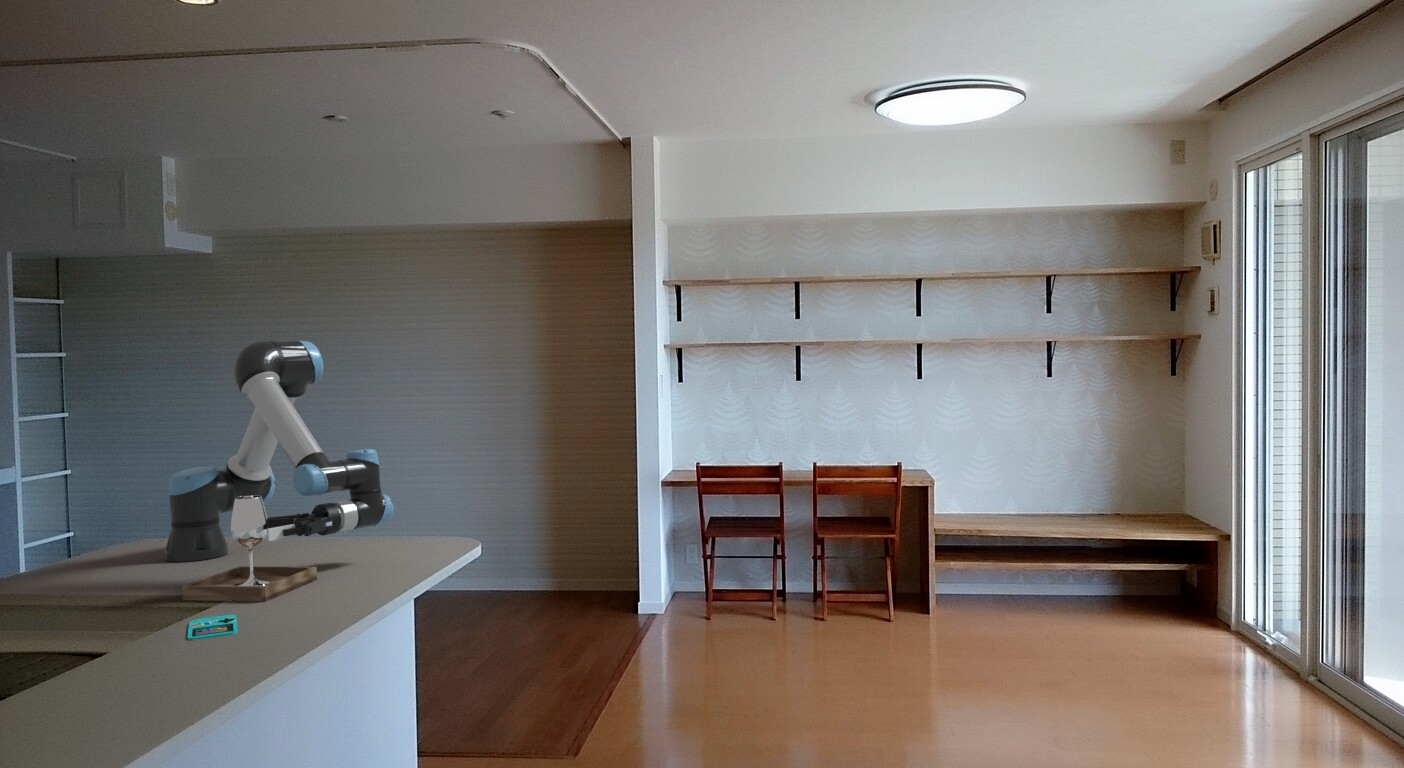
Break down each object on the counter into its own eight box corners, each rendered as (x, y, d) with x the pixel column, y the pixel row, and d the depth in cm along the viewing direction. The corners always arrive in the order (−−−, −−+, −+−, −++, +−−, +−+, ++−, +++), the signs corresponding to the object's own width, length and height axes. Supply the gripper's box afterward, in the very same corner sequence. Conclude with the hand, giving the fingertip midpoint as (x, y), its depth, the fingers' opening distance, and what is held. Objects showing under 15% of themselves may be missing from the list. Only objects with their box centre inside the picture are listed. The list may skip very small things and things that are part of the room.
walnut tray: (240, 578, 233) (239, 566, 233) (317, 579, 230) (316, 567, 230) (182, 600, 214) (181, 586, 213) (265, 601, 210) (265, 587, 210)
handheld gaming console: (236, 612, 199) (237, 630, 185) (236, 617, 199) (237, 635, 185) (189, 618, 195) (187, 637, 182) (189, 623, 195) (187, 643, 182)
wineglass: (256, 589, 217) (252, 499, 217) (225, 588, 219) (221, 499, 218) (278, 581, 225) (274, 494, 224) (248, 580, 226) (244, 494, 226)
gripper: (366, 537, 232) (283, 554, 214) (304, 529, 246) (222, 544, 229) (364, 505, 232) (281, 520, 214) (303, 499, 246) (220, 512, 228)
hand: (250, 532), depth 221 cm, fingers open, 13 cm apart
